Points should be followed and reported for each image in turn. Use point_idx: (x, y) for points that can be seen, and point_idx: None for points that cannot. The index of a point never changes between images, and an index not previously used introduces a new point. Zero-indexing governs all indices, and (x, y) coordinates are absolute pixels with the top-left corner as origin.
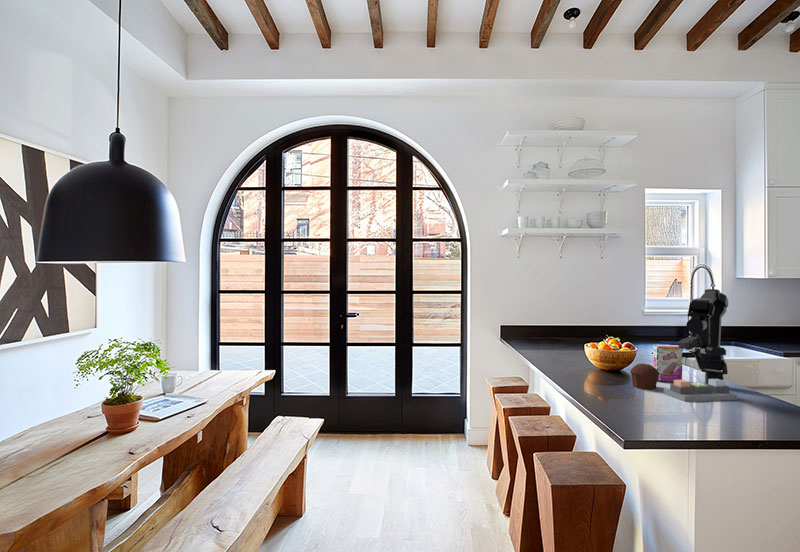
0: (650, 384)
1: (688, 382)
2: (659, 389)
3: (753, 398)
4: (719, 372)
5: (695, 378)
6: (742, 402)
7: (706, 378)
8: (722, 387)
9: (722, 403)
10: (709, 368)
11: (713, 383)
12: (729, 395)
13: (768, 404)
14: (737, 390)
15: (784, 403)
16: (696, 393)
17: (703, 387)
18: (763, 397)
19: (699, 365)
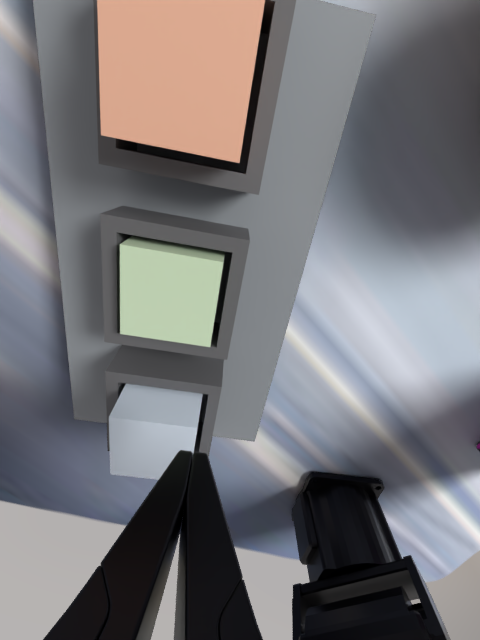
0: None
1: (103, 103)
2: (468, 150)
3: (111, 475)
4: (317, 590)
5: (475, 539)
6: (36, 381)
7: (372, 522)
8: (109, 410)
9: (6, 257)
10: (367, 597)
11: (146, 402)
12: (71, 378)
13: (2, 449)
14: (247, 520)
15: (25, 505)
16: (128, 195)
17: (102, 269)
18: (123, 513)
19: (189, 493)
